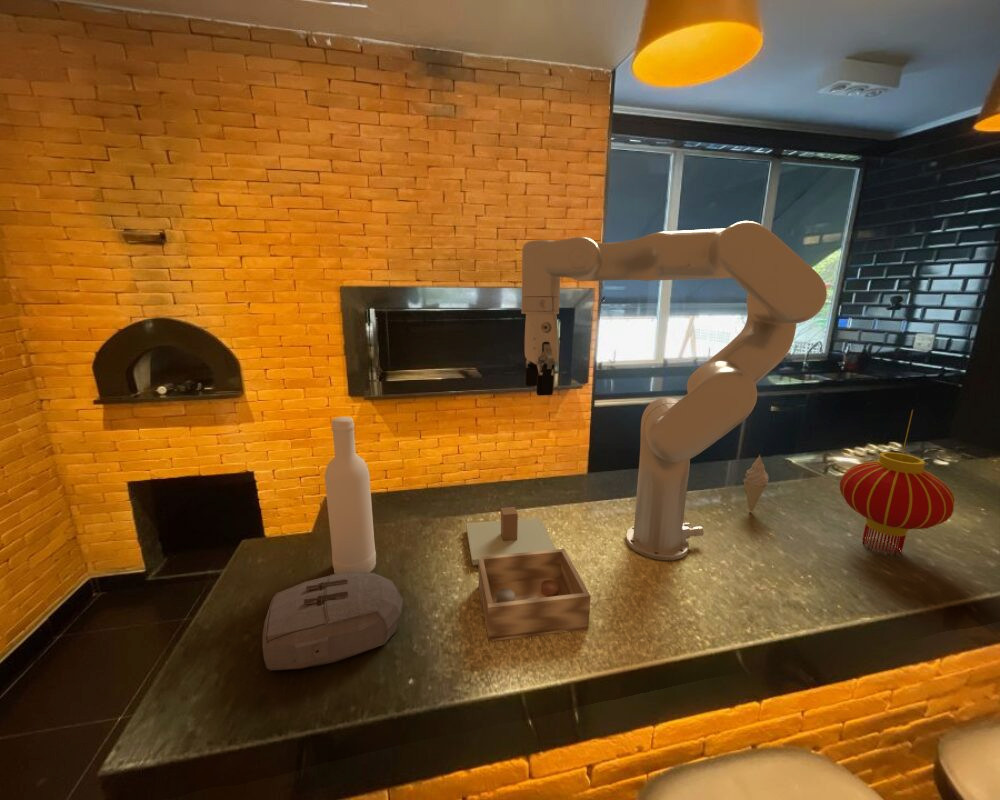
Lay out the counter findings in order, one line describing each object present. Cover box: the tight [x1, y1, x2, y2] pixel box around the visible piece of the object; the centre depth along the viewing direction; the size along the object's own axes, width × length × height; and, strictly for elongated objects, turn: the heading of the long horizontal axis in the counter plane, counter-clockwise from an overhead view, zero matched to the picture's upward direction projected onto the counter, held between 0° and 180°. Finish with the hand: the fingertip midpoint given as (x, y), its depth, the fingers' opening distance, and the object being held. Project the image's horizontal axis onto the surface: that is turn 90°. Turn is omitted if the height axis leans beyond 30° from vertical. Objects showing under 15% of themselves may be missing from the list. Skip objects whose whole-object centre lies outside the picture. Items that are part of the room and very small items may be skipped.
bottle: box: [324, 416, 377, 574], centre depth 79 cm, size 8×8×30 cm
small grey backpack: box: [262, 571, 404, 671], centre depth 65 cm, size 15×8×20 cm
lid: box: [465, 506, 557, 566], centre depth 89 cm, size 17×14×8 cm
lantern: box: [839, 409, 955, 554], centre depth 86 cm, size 17×17×30 cm
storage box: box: [477, 548, 591, 643], centre depth 71 cm, size 16×13×6 cm
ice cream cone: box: [743, 454, 770, 512], centre depth 102 cm, size 5×5×15 cm
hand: (538, 390), depth 89 cm, fingers open, 9 cm apart
